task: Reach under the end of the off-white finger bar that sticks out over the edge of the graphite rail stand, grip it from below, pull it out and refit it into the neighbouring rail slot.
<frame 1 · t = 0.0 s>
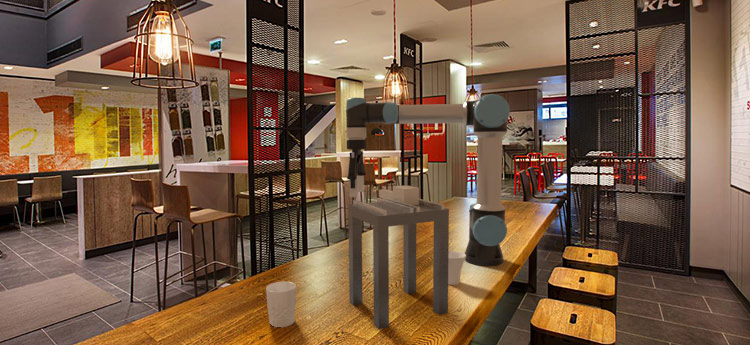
hand: (357, 194, 156), 28 cm above the table, tool pointing down, fingers open, 13 cm apart
cup: (453, 282, 139), on the table
finger bar: (399, 201, 125), point 30 cm above the table, touching rail stand
white cup: (282, 322, 110), on the table
rail stand: (397, 307, 119), on the table
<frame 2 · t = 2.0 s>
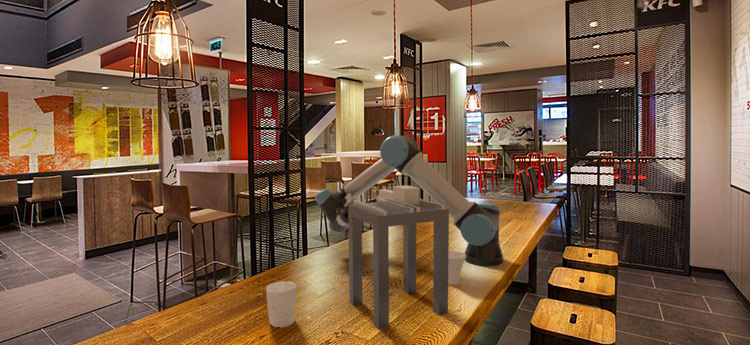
hand: (367, 195, 147), 29 cm above the table, tool pointing upward, fingers open, 13 cm apart
nothing on the table moved.
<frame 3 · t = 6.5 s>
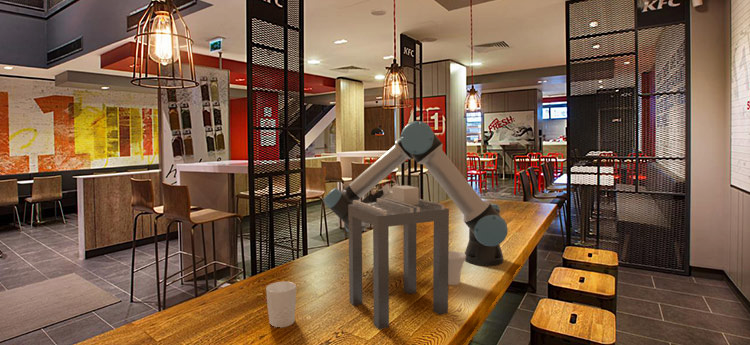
hand: (393, 187, 129), 34 cm above the table, tool pointing upward, fingers closed on finger bar, 3 cm apart
finger bar: (399, 201, 125), point 30 cm above the table, touching gripper
everything else where it was.
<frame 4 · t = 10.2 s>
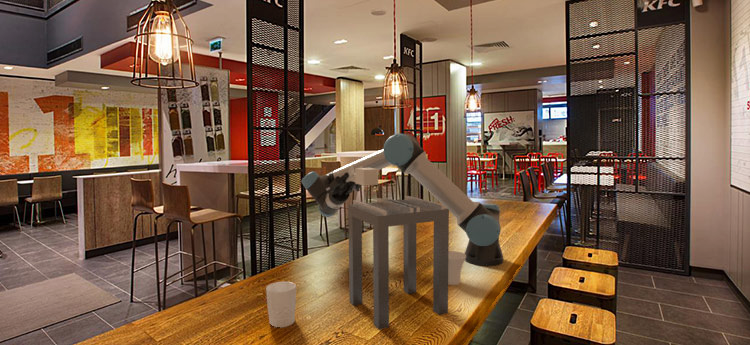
hand: (357, 170, 139), 39 cm above the table, tool pointing upward, fingers closed on finger bar, 3 cm apart
finger bar: (362, 182, 135), point 35 cm above the table, touching gripper
everything else where it was.
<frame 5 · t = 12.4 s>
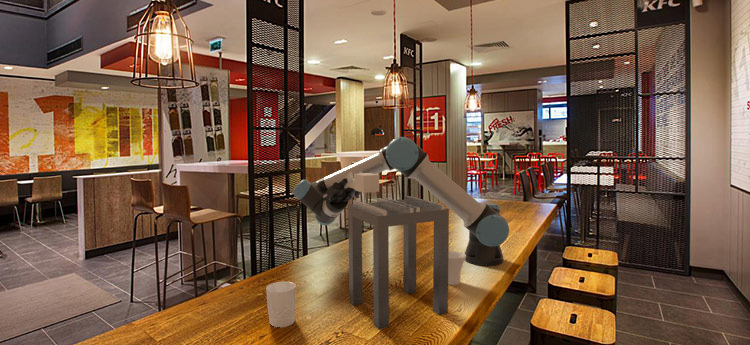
hand: (356, 175, 128), 38 cm above the table, tool pointing upward, fingers closed on finger bar, 3 cm apart
finger bar: (361, 189, 124), point 34 cm above the table, touching gripper
everything else where it was.
when the fingers open (35 cm above the table, at t = 14.2 s): finger bar drops 1 cm, resting on rail stand.
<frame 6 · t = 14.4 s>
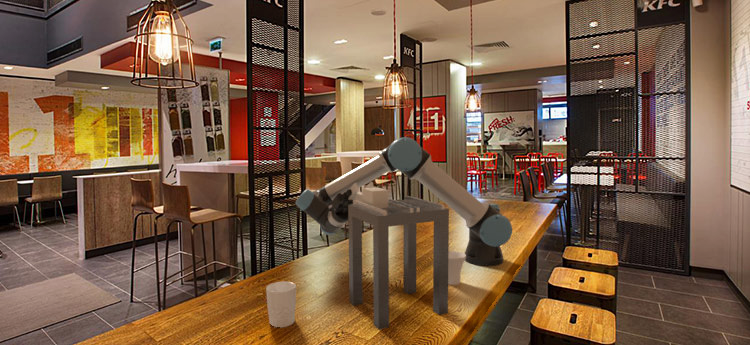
hand: (364, 186, 124), 35 cm above the table, tool pointing upward, fingers open, 5 cm apart
finger bar: (370, 204, 121), point 30 cm above the table, touching rail stand
everything else where it was.
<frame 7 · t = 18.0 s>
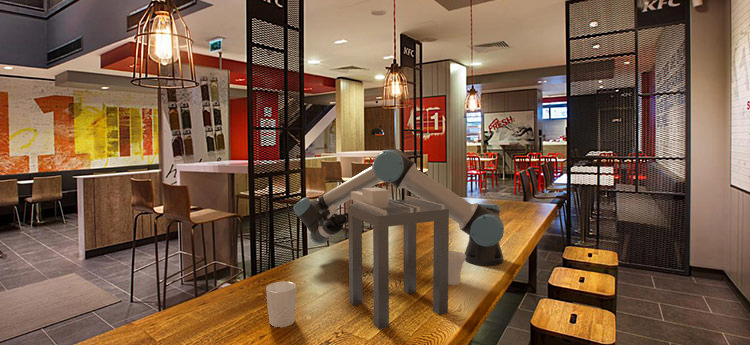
hand: (352, 206, 138), 26 cm above the table, tool pointing upward, fingers open, 13 cm apart
nothing on the table moved.
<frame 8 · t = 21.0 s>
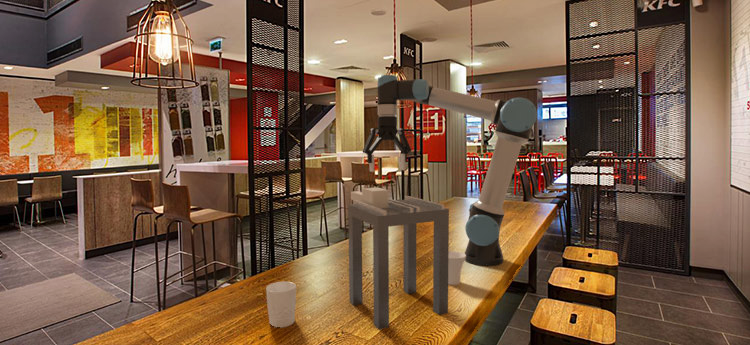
hand: (387, 170, 159), 37 cm above the table, tool pointing down, fingers open, 13 cm apart
nothing on the table moved.
at the end: finger bar 0.2 cm from the target spot on the rail stand, point 30.0 cm above the rail stand's base; the gripper is holding nothing; finger bar tilted 0° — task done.
